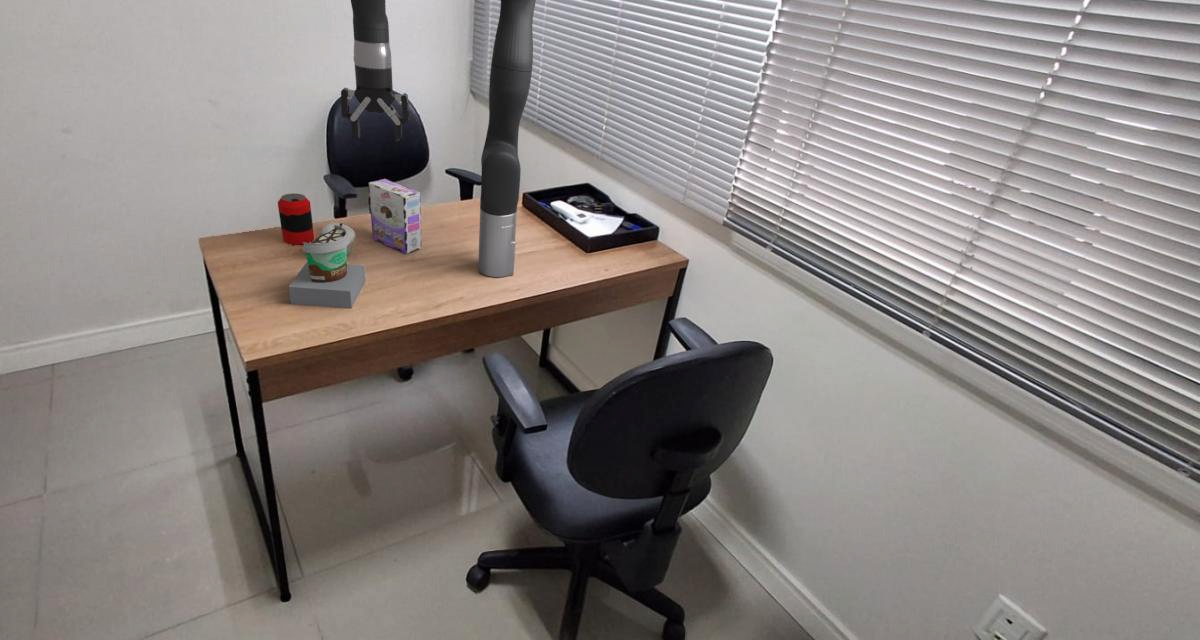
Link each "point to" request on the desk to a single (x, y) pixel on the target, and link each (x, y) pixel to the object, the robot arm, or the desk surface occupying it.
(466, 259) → the desk surface
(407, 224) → the candy box
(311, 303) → the grey block
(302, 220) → the soda can
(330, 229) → the decorative object
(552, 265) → the desk surface
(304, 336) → the desk surface
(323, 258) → the food container
